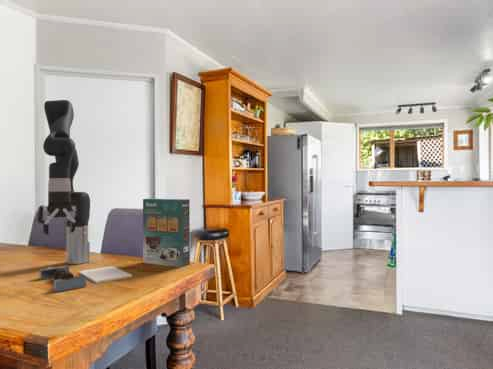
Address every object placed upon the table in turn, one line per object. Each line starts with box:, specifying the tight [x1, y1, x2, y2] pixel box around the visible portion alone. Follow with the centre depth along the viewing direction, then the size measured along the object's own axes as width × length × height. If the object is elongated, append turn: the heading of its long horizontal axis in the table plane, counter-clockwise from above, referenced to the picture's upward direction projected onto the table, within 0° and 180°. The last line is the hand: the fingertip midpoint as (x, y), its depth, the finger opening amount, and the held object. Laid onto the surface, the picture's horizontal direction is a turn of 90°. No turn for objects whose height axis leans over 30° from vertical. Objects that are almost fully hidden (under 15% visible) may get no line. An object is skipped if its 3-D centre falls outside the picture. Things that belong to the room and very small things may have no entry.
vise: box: [38, 265, 87, 293], centre depth 137 cm, size 10×30×4 cm, turn 42°
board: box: [78, 265, 133, 284], centre depth 145 cm, size 14×20×1 cm
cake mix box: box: [142, 198, 191, 268], centre depth 166 cm, size 22×6×30 cm, turn 66°
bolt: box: [53, 269, 75, 280], centre depth 135 cm, size 6×5×15 cm
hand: (59, 233), depth 134 cm, fingers open, 8 cm apart
